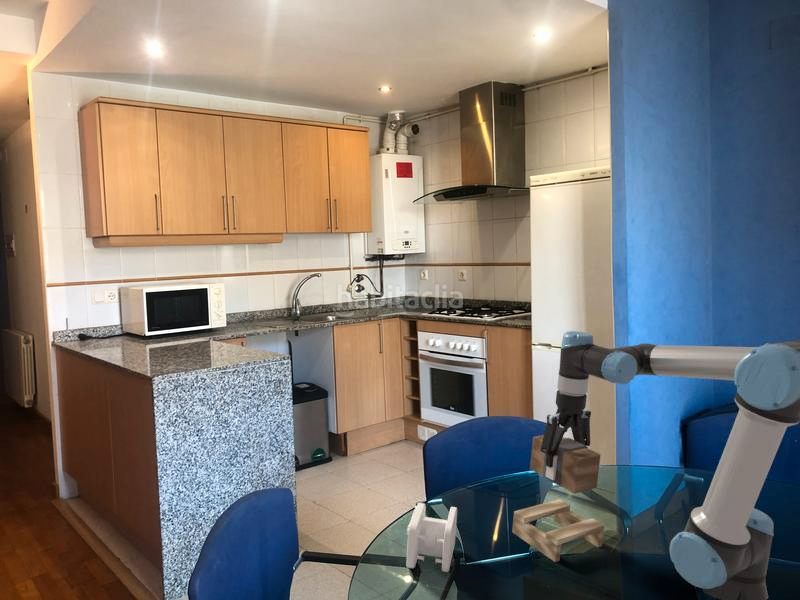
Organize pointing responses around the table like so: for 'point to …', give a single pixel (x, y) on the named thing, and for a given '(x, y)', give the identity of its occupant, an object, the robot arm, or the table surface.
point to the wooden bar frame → (554, 539)
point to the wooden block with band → (568, 464)
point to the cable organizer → (431, 537)
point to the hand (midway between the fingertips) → (562, 474)
